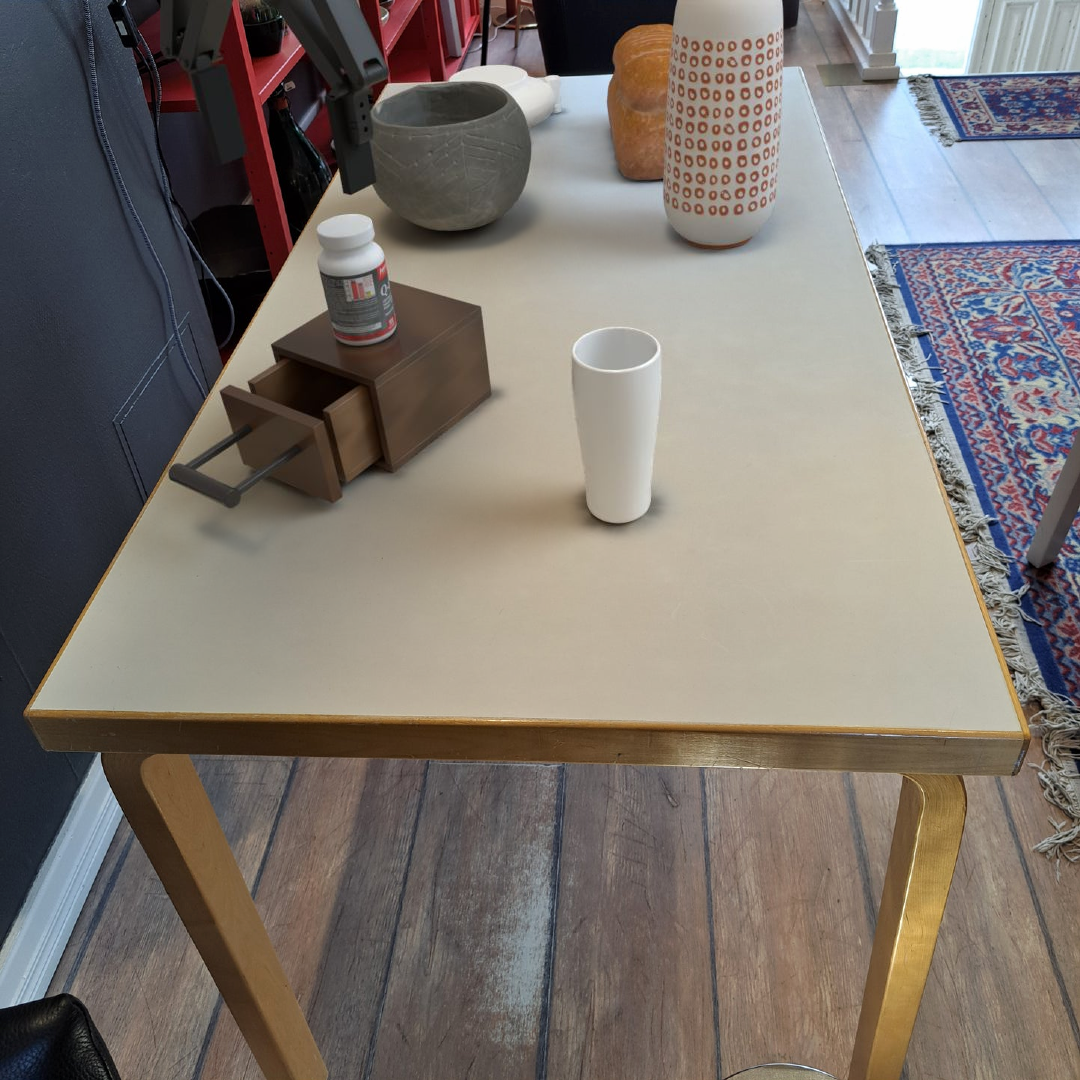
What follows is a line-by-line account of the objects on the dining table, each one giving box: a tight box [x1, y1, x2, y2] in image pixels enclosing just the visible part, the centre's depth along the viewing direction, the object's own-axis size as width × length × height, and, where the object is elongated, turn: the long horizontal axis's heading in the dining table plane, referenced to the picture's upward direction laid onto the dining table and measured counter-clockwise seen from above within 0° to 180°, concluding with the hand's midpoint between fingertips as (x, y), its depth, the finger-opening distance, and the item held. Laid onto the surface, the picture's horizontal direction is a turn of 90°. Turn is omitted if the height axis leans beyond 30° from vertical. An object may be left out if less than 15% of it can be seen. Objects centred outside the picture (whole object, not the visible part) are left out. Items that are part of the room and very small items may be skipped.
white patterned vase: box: [662, 0, 784, 250], centre depth 111 cm, size 13×13×28 cm
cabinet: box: [270, 280, 493, 473], centre depth 92 cm, size 15×13×10 cm
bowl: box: [370, 81, 532, 232], centre depth 124 cm, size 21×21×15 cm
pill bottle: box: [316, 213, 396, 346], centre depth 85 cm, size 6×6×10 cm
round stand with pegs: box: [447, 64, 563, 129], centre depth 155 cm, size 24×24×7 cm
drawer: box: [167, 357, 384, 509], centre depth 85 cm, size 22×11×8 cm, turn 145°
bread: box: [606, 23, 673, 181], centre depth 139 cm, size 14×26×15 cm, turn 0°
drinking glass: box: [570, 326, 663, 524], centre depth 77 cm, size 7×7×15 cm
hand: (293, 173), depth 73 cm, fingers open, 13 cm apart
